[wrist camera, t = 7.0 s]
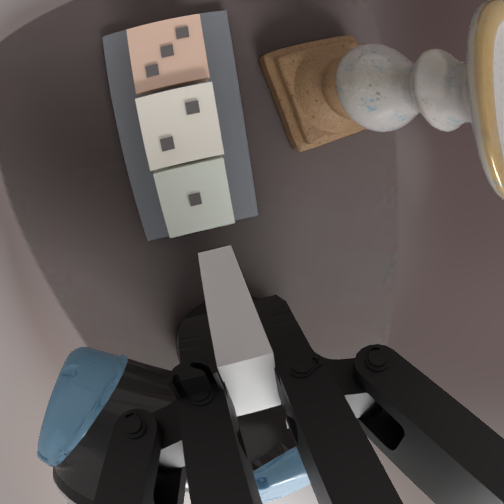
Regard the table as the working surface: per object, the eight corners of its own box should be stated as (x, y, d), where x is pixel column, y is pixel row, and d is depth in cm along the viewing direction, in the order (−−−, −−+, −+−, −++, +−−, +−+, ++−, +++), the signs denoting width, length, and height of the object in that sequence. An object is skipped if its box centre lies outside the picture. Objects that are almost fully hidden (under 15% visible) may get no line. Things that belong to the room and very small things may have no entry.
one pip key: (229, 210, 30) (235, 223, 26) (170, 224, 29) (169, 239, 26) (218, 152, 27) (223, 158, 24) (156, 166, 26) (152, 174, 23)
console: (255, 211, 32) (264, 224, 29) (148, 236, 31) (145, 252, 28) (224, 13, 22) (230, 1, 18) (105, 39, 20) (95, 30, 17)
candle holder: (345, 36, 25) (541, 9, 4) (372, 122, 30) (561, 180, 10) (256, 57, 25) (438, -30, 4) (292, 151, 30) (482, 252, 9)
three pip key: (206, 81, 23) (210, 77, 20) (141, 96, 23) (135, 93, 19) (197, 25, 20) (199, 13, 17) (132, 38, 20) (125, 29, 16)
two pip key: (219, 148, 26) (224, 154, 22) (154, 163, 25) (150, 171, 22) (208, 85, 23) (212, 81, 19) (141, 100, 22) (134, 98, 19)
